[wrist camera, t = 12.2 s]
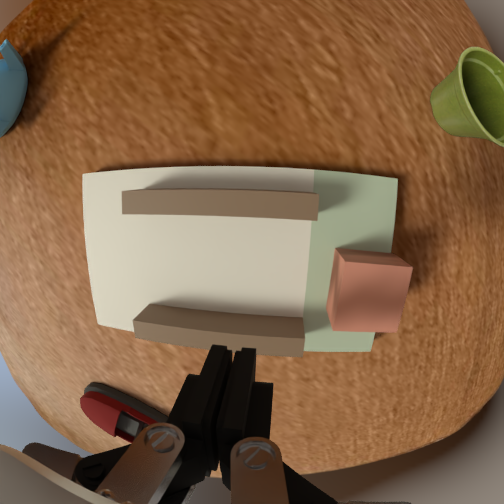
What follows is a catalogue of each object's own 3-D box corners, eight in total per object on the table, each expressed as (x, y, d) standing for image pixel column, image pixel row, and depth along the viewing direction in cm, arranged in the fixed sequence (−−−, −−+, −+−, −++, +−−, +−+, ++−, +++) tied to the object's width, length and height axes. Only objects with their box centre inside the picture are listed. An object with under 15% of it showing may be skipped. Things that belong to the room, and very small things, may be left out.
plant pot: (488, 112, 21) (533, 101, 12) (463, 168, 23) (513, 169, 15) (433, 57, 20) (472, 29, 12) (403, 111, 23) (445, 89, 14)
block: (334, 247, 25) (345, 261, 20) (393, 253, 24) (412, 267, 20) (325, 307, 26) (332, 330, 22) (381, 310, 26) (396, 332, 21)
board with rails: (93, 173, 28) (58, 174, 22) (390, 178, 24) (416, 179, 19) (106, 317, 32) (80, 339, 26) (366, 341, 29) (380, 373, 23)
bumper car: (88, 370, 36) (53, 407, 26) (203, 426, 35) (186, 477, 26) (89, 404, 38) (62, 439, 29) (189, 453, 38) (174, 497, 28)
